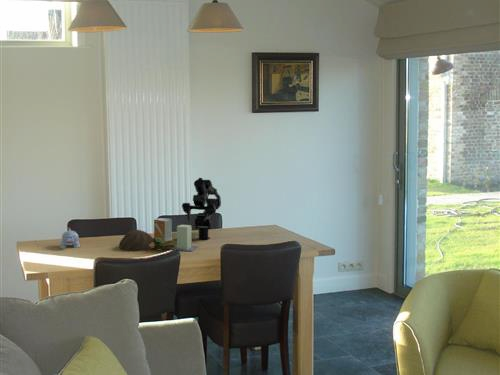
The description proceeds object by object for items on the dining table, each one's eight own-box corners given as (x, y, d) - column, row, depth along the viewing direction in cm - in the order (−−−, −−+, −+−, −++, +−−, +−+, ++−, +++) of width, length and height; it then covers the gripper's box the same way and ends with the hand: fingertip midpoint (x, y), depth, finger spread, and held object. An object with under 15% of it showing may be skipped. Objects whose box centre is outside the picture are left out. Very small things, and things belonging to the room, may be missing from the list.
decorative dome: (114, 246, 403) (113, 228, 402) (148, 243, 412) (148, 225, 411) (125, 252, 386) (124, 234, 385) (160, 249, 395) (160, 231, 394)
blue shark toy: (60, 250, 391) (59, 232, 390) (59, 244, 405) (59, 227, 404) (80, 249, 394) (80, 231, 392) (79, 243, 408) (79, 227, 407)
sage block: (181, 246, 400) (181, 224, 398) (191, 246, 398) (191, 225, 397) (177, 248, 394) (176, 226, 393) (187, 249, 392) (187, 227, 391)
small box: (153, 242, 414) (153, 219, 412) (161, 240, 419) (161, 217, 417) (164, 243, 409) (164, 220, 408) (172, 241, 415) (171, 219, 413)
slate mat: (176, 246, 403) (176, 244, 403) (197, 247, 401) (197, 245, 401) (170, 250, 392) (170, 249, 391) (191, 251, 389) (191, 250, 389)
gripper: (182, 188, 412) (177, 211, 403) (214, 189, 408) (209, 212, 399) (186, 200, 421) (181, 222, 411) (218, 201, 417) (213, 224, 408)
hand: (196, 220), depth 407 cm, fingers open, 9 cm apart
